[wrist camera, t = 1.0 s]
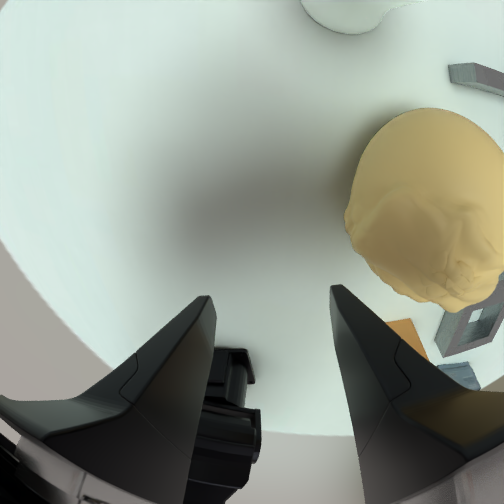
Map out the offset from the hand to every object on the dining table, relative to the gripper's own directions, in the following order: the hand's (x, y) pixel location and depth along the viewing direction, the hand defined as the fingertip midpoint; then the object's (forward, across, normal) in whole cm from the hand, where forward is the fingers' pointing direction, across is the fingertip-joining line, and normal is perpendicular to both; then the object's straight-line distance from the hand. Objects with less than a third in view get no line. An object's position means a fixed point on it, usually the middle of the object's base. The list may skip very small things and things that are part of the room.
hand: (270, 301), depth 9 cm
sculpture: (+12, -10, 0) cm, 16 cm away
